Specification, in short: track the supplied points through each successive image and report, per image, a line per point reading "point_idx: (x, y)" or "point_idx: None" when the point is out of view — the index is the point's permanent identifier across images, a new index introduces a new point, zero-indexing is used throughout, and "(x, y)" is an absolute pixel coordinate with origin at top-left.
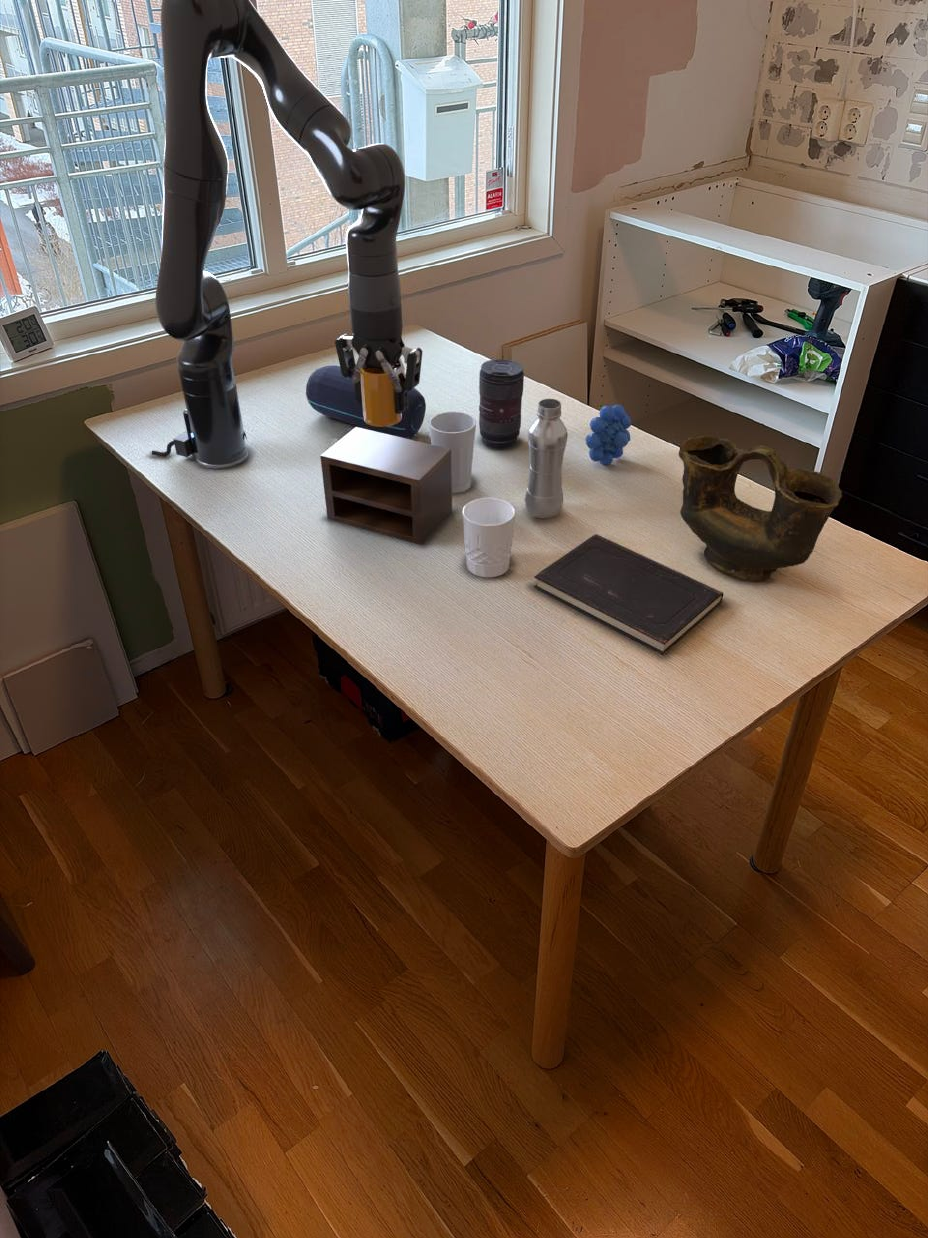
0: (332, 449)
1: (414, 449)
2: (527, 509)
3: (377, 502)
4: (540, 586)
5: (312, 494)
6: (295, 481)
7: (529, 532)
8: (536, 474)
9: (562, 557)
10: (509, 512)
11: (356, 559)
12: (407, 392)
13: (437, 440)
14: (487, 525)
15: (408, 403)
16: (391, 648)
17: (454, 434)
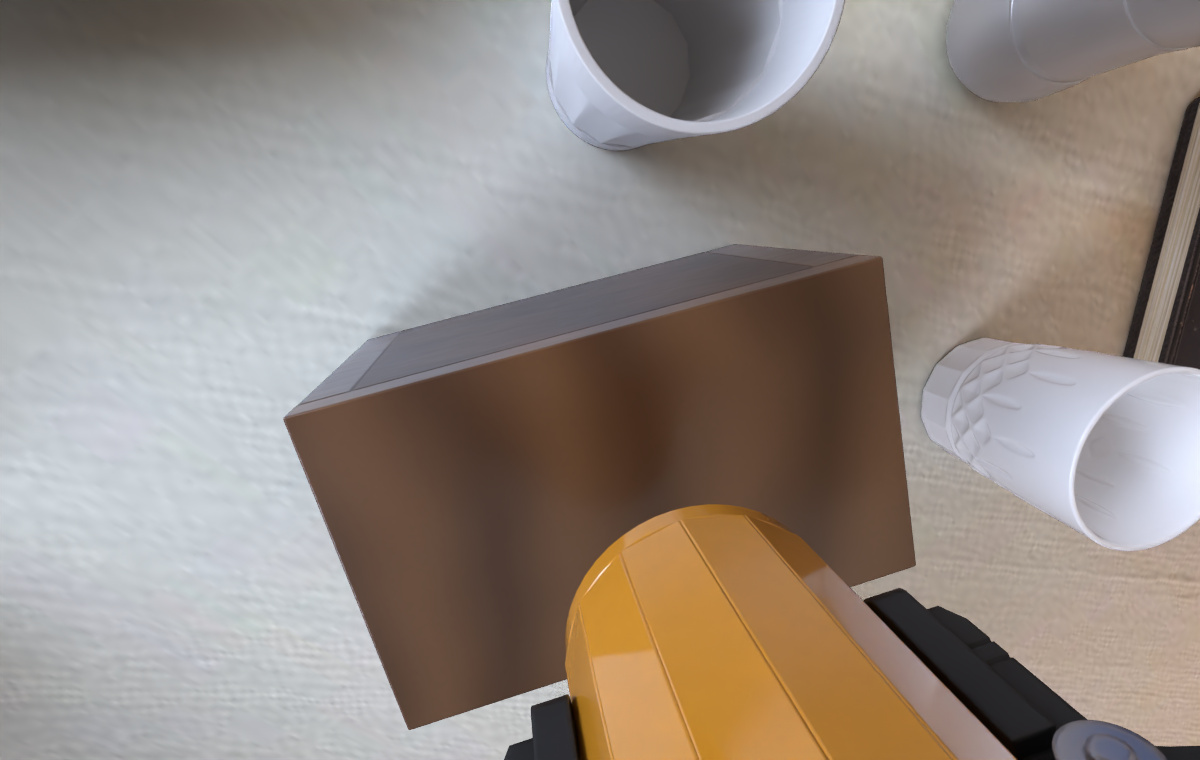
0: (405, 659)
1: (733, 386)
2: (976, 93)
3: None
4: None
5: (264, 484)
6: (128, 469)
7: (997, 175)
8: (1158, 52)
9: (1188, 282)
10: (1171, 373)
11: None
12: (1069, 713)
13: (675, 136)
14: (1185, 530)
15: (975, 626)
16: None
17: (793, 92)
